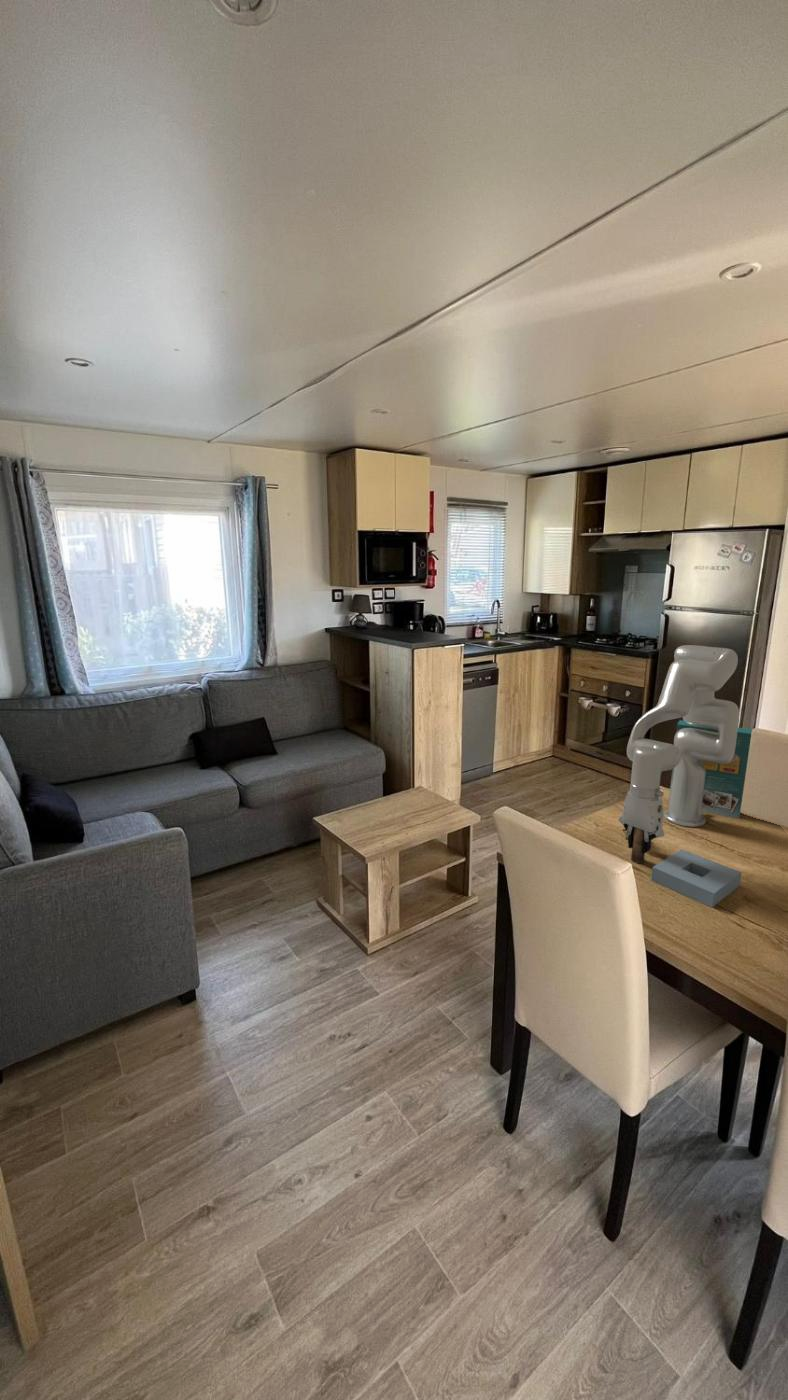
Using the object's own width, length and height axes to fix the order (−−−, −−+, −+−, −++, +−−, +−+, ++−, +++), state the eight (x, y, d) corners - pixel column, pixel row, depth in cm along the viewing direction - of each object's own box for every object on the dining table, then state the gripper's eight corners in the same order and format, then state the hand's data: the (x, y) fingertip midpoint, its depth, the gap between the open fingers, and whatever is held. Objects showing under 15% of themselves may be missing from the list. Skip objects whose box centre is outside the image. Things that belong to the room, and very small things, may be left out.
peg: (635, 856, 167) (638, 819, 164) (646, 861, 164) (650, 823, 161) (628, 860, 165) (632, 822, 162) (639, 864, 162) (643, 826, 159)
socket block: (680, 861, 163) (681, 849, 162) (739, 885, 151) (741, 872, 150) (651, 880, 154) (652, 867, 153) (712, 907, 142) (714, 893, 141)
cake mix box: (740, 812, 195) (752, 729, 188) (739, 818, 190) (751, 733, 183) (670, 798, 207) (679, 720, 200) (668, 804, 202) (677, 724, 195)
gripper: (680, 796, 155) (673, 856, 159) (624, 778, 168) (619, 835, 172) (666, 803, 151) (659, 865, 155) (610, 785, 163) (605, 842, 168)
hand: (638, 848), depth 163 cm, fingers closed on peg, 3 cm apart
